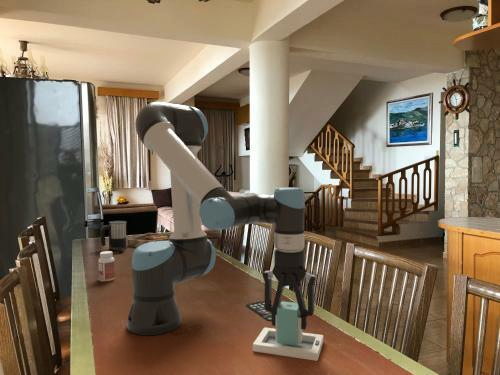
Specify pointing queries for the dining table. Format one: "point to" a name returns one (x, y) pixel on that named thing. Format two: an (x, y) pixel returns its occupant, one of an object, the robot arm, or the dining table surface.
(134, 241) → the book tray
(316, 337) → the white shallow tray
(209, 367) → the dining table surface
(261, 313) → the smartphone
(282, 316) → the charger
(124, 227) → the milk frother
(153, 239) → the decorative book
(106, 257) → the pill bottle
